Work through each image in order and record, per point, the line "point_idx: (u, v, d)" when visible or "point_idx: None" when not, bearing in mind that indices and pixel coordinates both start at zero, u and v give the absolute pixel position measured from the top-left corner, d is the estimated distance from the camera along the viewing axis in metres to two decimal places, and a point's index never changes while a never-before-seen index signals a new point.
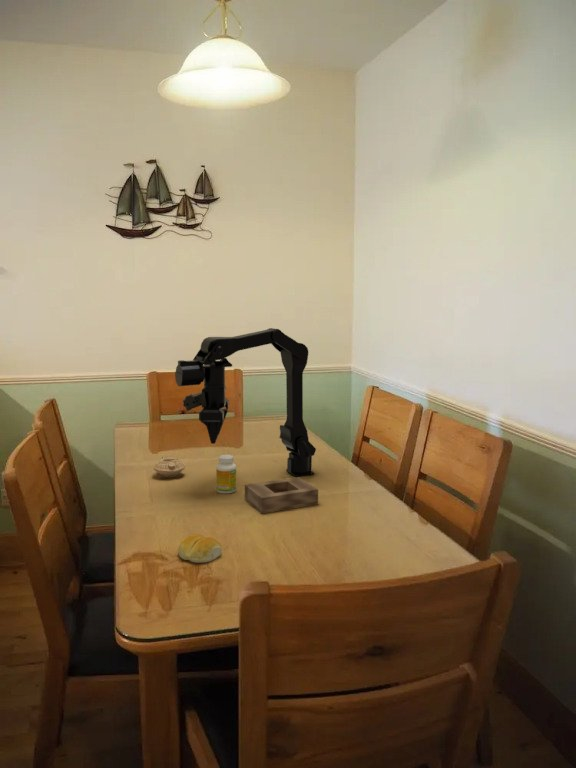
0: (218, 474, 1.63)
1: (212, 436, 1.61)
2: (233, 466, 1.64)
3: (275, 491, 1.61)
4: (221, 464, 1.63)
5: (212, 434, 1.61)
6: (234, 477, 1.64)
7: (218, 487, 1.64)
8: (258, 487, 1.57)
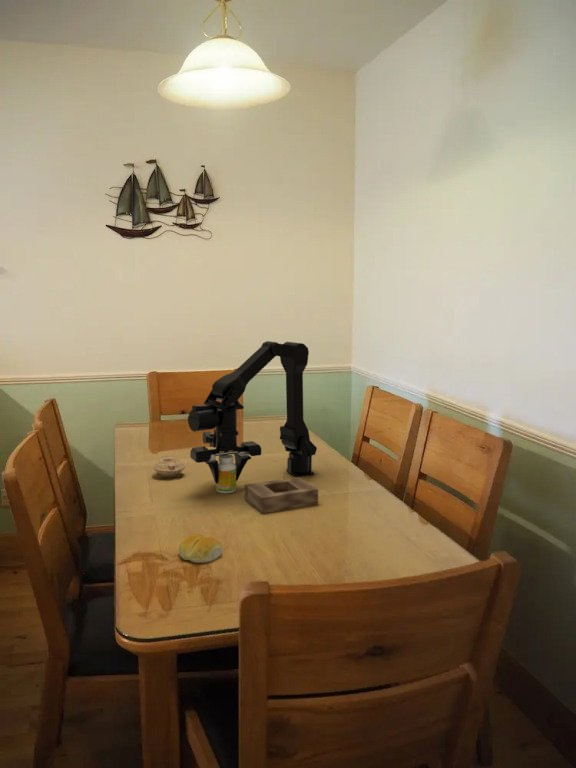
0: (218, 474, 1.63)
1: (213, 475, 1.64)
2: (233, 466, 1.64)
3: (275, 491, 1.61)
4: (221, 464, 1.63)
5: (212, 473, 1.63)
6: (234, 477, 1.64)
7: (218, 487, 1.64)
8: (258, 487, 1.57)
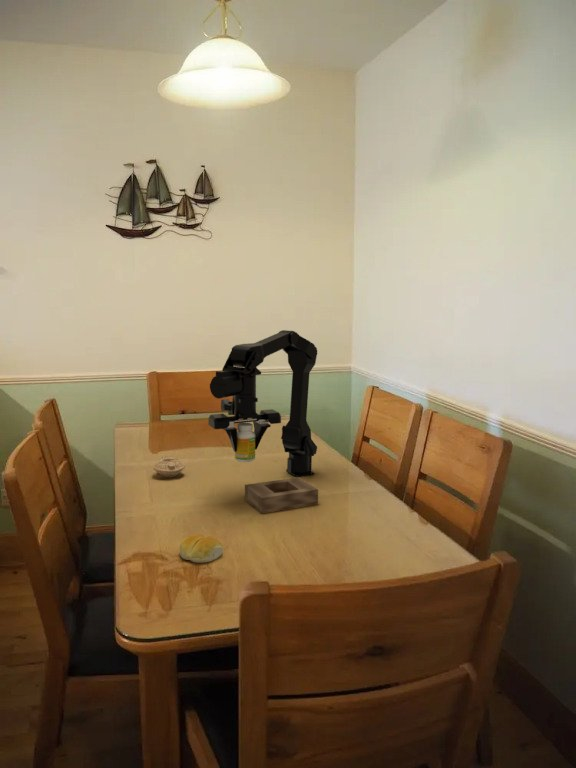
0: (237, 442, 1.59)
1: (232, 443, 1.59)
2: (252, 434, 1.59)
3: (275, 491, 1.61)
4: (240, 432, 1.59)
5: (231, 441, 1.59)
6: (253, 445, 1.60)
7: (237, 455, 1.60)
8: (258, 487, 1.57)
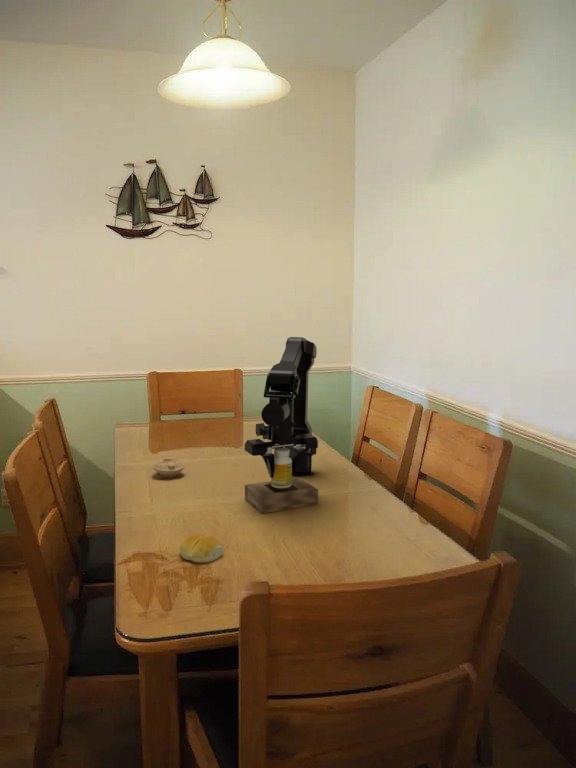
0: (274, 468, 1.55)
1: (268, 469, 1.55)
2: (289, 459, 1.55)
3: (275, 491, 1.61)
4: (277, 457, 1.55)
5: (268, 467, 1.55)
6: (290, 471, 1.56)
7: (273, 482, 1.55)
8: (258, 487, 1.57)
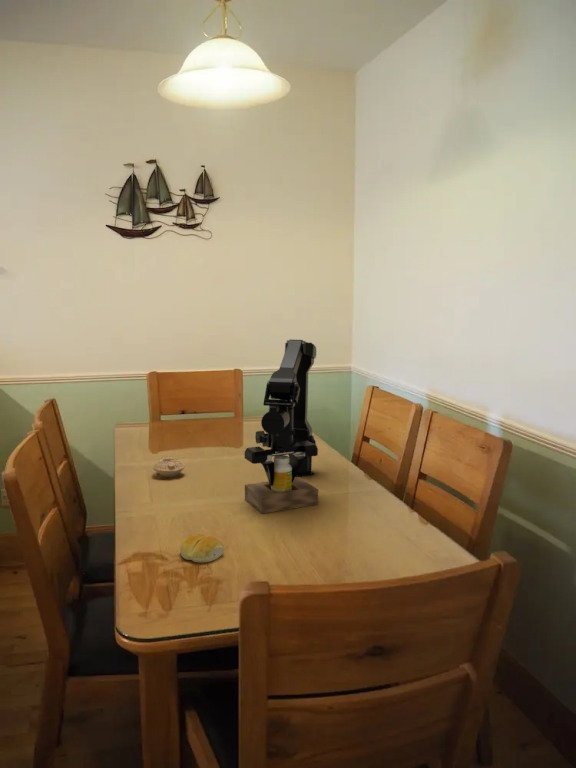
0: None
1: (268, 477, 1.55)
2: (289, 467, 1.55)
3: None
4: (277, 465, 1.55)
5: (267, 475, 1.55)
6: (290, 479, 1.56)
7: (273, 489, 1.56)
8: (258, 487, 1.57)
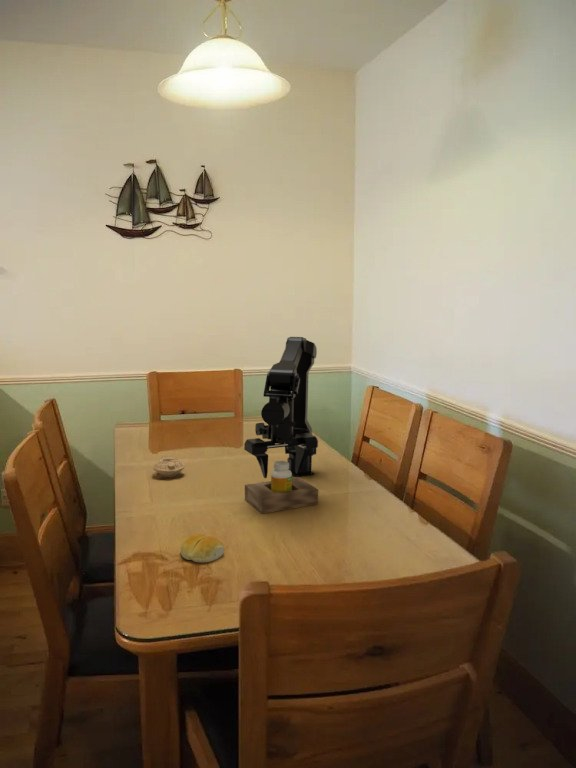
0: (273, 481, 1.55)
1: (262, 470, 1.54)
2: (289, 473, 1.56)
3: None
4: (276, 471, 1.55)
5: (261, 468, 1.54)
6: (290, 484, 1.56)
7: None
8: (258, 487, 1.57)
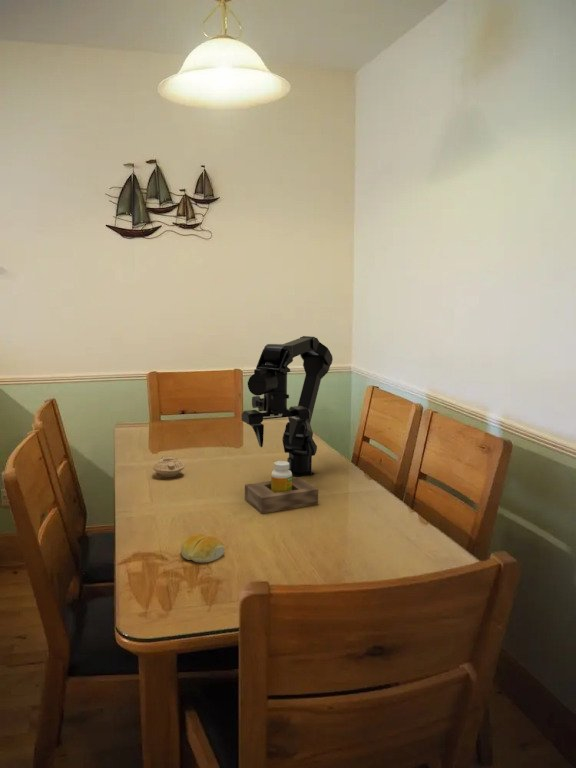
0: (274, 481, 1.55)
1: (258, 439, 1.66)
2: (289, 473, 1.56)
3: None
4: (277, 471, 1.55)
5: (257, 437, 1.65)
6: (290, 484, 1.56)
7: None
8: (258, 487, 1.57)
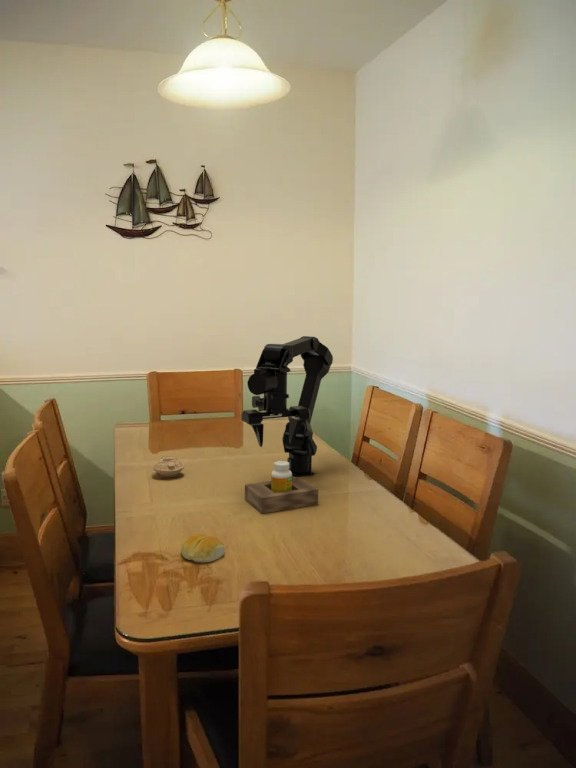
0: (274, 481, 1.55)
1: (258, 439, 1.66)
2: (289, 473, 1.56)
3: None
4: (277, 471, 1.55)
5: (257, 437, 1.66)
6: (290, 484, 1.56)
7: None
8: (258, 487, 1.57)
